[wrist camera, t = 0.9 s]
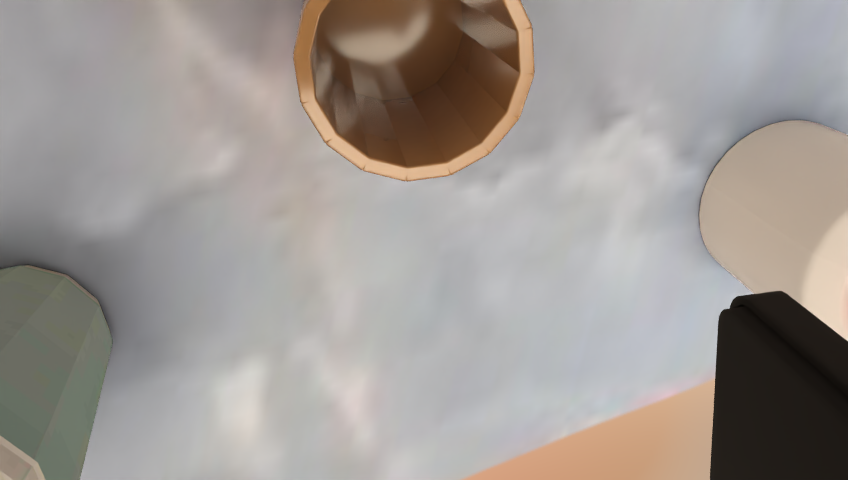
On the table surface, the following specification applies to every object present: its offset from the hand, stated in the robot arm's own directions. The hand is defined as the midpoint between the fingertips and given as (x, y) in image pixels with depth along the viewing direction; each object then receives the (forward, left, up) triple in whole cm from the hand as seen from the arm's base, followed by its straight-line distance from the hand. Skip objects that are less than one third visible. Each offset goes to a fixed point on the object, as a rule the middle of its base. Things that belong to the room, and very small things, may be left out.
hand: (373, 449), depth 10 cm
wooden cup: (-2, +2, -24) cm, 24 cm away
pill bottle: (+8, +19, -24) cm, 32 cm away
